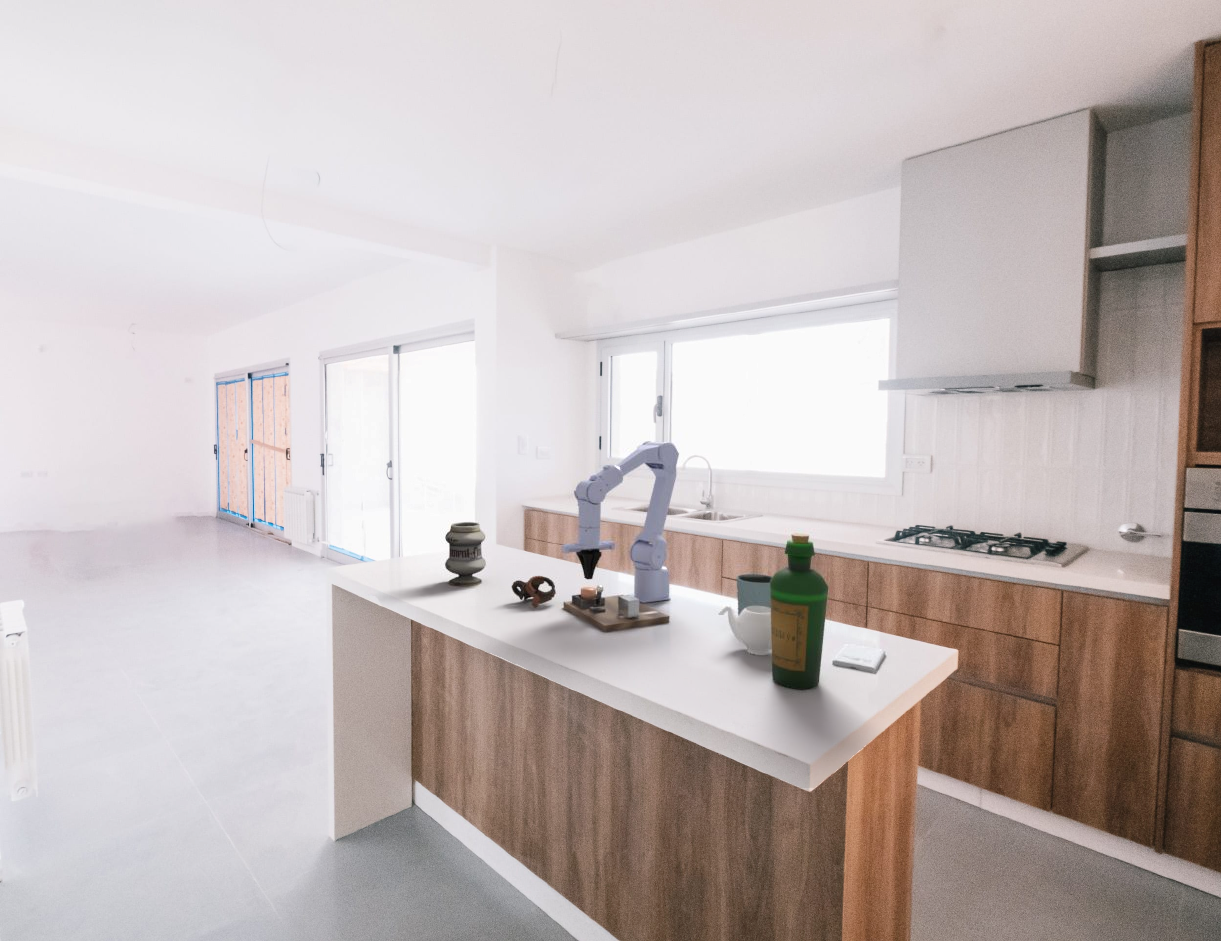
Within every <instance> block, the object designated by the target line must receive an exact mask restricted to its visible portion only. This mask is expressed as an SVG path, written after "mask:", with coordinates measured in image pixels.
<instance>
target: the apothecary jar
mask: <svg viewBox="0 0 1221 941" xmlns="http://www.w3.org/2000/svg"><path fill="white" fill-rule="evenodd" d="M444 538H445V541H446V542H447V543H448V544H449V545H448V546H449V548H448V549H449V552H448V554H449V556H448V558H447V559H446V560H445V563H444V566H445V569H446V570H447V571H449V572H450V573H452V574H455V575H458V576H455V577H454V578H451V579H449V580H448V584H449V585H451V586H460V587H472V586H477V585H479V584H482V582H483V580H482V579H481V578H478V577H477V576H475V574H478V573H479V572H481V571H483V570H484V569H485V567H486V565H487V564H486V563H487V562H486V559H485V558H484V557H483V555H482V543H483V542H484V541H485V539H486V534H485V532H484V531H483V530H481V527H480V523H479V522H471V521H464V522H463V521H461V522H454V523H452V524H451V526H450V529H449V531H448V532H447V533H446V534H445V537H444Z"/></svg>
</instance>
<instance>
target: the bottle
mask: <svg viewBox="0 0 1221 941" xmlns="http://www.w3.org/2000/svg"><path fill="white" fill-rule="evenodd" d="M784 554H786V555H787V564H788V565H787V566H785V567H783V568H781V569H779V570H778V571H776V572H775V573H774V575H772V578H771V580H770V604H771V644H772V649H771V665H772V666H771V674H772V675H771V676H772V680H774V681H775V682H776V683H778V684H780V685H781V686H784V687H787V688H790V689H799V690H803V689H805V690H806V689H810V688H814V687H816V686H817V685H818V684H819V683H820V677H821V676H820V675H821V666H822V664H821V663H822V656H823V644H824V637H825V636H824V634H825V623H826V614H827V604H828V594H829V585H828V583H827V582H826V581H825V579H824V577H823V575H821V574H820V573H819V572H818V571H816V570H815V569H814V568H811V564H812V557H814V556H815V555H816V553H815V548H814V542H813V541H811V540H810V535H809V534H806V533H791V539H789V540H787V542H786V544H785V550H784Z"/></svg>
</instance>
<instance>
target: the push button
mask: <svg viewBox="0 0 1221 941" xmlns="http://www.w3.org/2000/svg"><path fill="white" fill-rule="evenodd" d="M596 588H597V587H591V586H585V587H581V588H580V594H581V598H582V599H584V600H586V599H594V598H596V594H597V590H596Z"/></svg>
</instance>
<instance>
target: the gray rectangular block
mask: <svg viewBox="0 0 1221 941" xmlns="http://www.w3.org/2000/svg"><path fill="white" fill-rule="evenodd" d="M623 595H624V594H623ZM639 603H640V602H639V599H637V598H635V597H632V596H630V594H626V595H624V596H618V613H619V614H621V615H623V616H625V617H627V618H633V617H639Z"/></svg>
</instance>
